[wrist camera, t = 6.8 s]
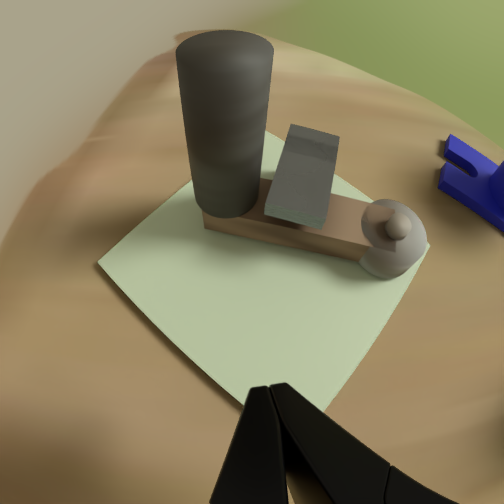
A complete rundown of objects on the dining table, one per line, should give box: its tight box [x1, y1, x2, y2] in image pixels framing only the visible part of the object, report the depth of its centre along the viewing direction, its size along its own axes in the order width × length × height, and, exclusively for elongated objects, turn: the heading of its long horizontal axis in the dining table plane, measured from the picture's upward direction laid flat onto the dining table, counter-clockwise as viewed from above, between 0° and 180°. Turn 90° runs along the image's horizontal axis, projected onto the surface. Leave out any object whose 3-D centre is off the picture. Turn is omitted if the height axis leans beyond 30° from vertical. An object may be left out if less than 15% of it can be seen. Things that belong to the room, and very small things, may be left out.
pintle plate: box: [98, 130, 430, 412], centre depth 20 cm, size 16×15×1 cm
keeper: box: [264, 124, 340, 230], centre depth 19 cm, size 3×6×5 cm, turn 164°
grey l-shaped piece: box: [176, 30, 427, 279], centre depth 15 cm, size 14×4×11 cm, turn 78°
